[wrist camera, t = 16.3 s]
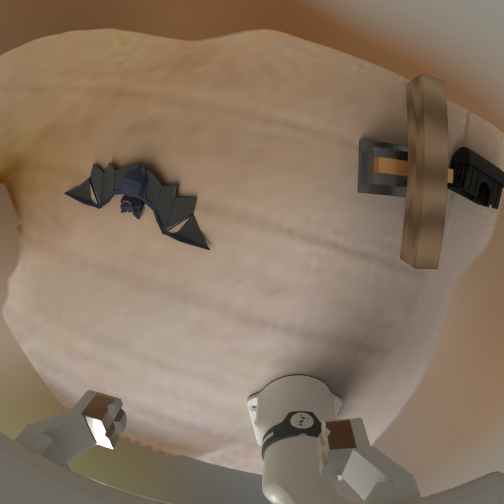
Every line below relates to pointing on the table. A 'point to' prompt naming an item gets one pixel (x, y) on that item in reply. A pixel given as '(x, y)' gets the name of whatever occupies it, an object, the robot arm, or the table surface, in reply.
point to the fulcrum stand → (384, 168)
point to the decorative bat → (142, 199)
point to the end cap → (476, 178)
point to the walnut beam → (425, 172)
